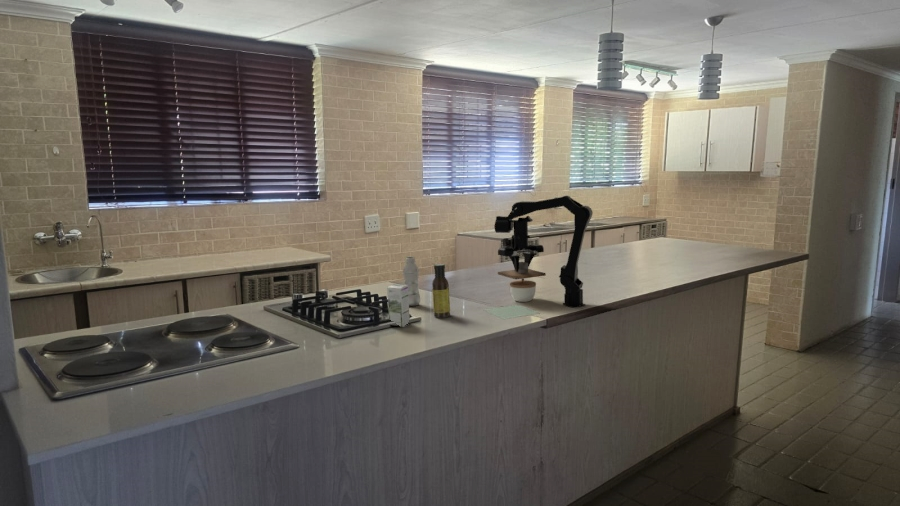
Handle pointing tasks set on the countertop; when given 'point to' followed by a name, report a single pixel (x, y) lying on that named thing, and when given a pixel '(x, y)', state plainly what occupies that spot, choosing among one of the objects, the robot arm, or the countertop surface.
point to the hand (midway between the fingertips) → (521, 271)
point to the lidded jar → (523, 290)
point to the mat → (511, 311)
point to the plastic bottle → (412, 280)
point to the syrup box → (398, 304)
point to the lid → (521, 272)
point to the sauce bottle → (440, 293)
